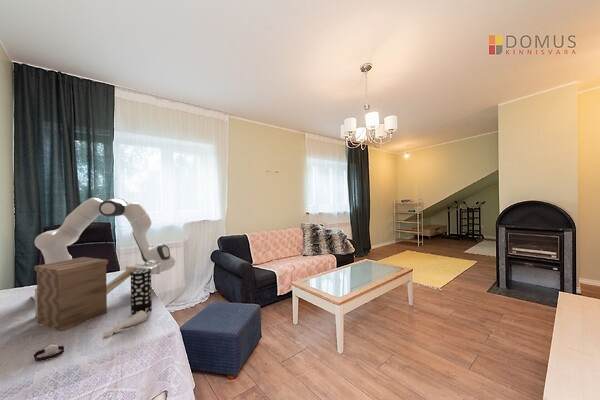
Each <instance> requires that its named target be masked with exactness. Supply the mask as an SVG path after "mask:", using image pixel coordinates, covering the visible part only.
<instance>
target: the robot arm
mask: <svg viewBox="0 0 600 400" xmlns="http://www.w3.org/2000/svg"><path fill="white" fill-rule="evenodd" d="M101 215H102V216H104V217H107V218H111V217H112V218H113V217H119V216H124V217H125V218H126V220H128V222H129V224H130V226H131V228H132V235H133V238H134V241H135V242H136V243H135V244H136V245H137V247H138V250H139V251H140V255H141V259H142V261H143V262H144V263H143V264H141V263H137V264H129V265H126V267H125V270H124V272H125V271H126V270H127V269H129V268H130V267H135V269H136V270H141V269H151V276H153V275H160V274H161V273H162V272H166V271H170V270H171V269H173V268H174V267H175V265H176V259H175V257H174V256H172V255H171V252H170V248H169V246H168V245H166V244H164V243H160V244H157V245H155V246H153V247H151V245H150V244H149V241H148V239H147V237H146V236H147V232H148V230H149V229H150V228H151V226H152V220H151V217H150V215H149V214H148V213H147V211H146V210H145V208H144V207H143V205H141V204H140V203H139V202H136V201H135V202H129V203H128V202H127V201H126V200H125V199H123V198H111V199H106V200H101V199H100V198H98V197H91V198H90V197H89V198H87V200H85V201H83V202H82V203H81V204H80V205H78V206H77V207H76V208H75V209H73V211H71V212H70V213H69V214H68V215H66V217H65V218H64V221H63V223H62V224H61V225H60V226H59V228H57V229H54V230H47V231H45V232H42V233H40V234H38V235H37V236H36V237H35V239H34V245H35V247H36V248H37V249H38V250H40V252H41V254H42V256H43V260H44V264H49V263H55V262H60V261H65V260H71V259H73V257H72V255H71V254H70V253H69V251H68V248H67V247H68V246H71V245H73V244H74V243H76V242H77V241H78V240H79V239H80V236H81V234H82V233H83V232H84V231H85V229H87V228H88V226H89V225H90V224H92V223H93V222H94V221H96V219H97V218H98V217H99V216H101ZM136 270H132V271H130V274H131V272H133V271H136ZM35 292H37V287H35V288H34V293H33V294H31V296H30V297H31V298H32V299H33V300H34V301H35Z"/></svg>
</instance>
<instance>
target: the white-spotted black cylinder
mask: <svg viewBox="0 0 600 400" xmlns="http://www.w3.org/2000/svg"><path fill="white" fill-rule="evenodd" d="M152 298H153V297H152V275H151V269H141V270H136V271H133V272H131V276H130V300H131V301H130V302H131V303H130V310H131V311H130V313H131V316H133V315H134V314H136V313H138V312H139V311H144V312H145V311H146V310H147V314H148V312H149V311H150V312H152V310H153V309H152V308H153V307H152V305H153V304H152V303H153V302H152Z"/></svg>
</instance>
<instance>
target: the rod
mask: <svg viewBox="0 0 600 400" xmlns="http://www.w3.org/2000/svg"><path fill="white" fill-rule="evenodd" d="M125 270H126V269H125ZM125 270H124V271H123V272H121V273H120V274H119V275H118V276H116V277H115V278H114V279H113V280H110V282H109V283H106V287H107V295H108V294H110V292H112V291H113V290H114V289H116V288H117V287H119V285H121V284H123V283H124V282H125V281H126V280H127V279H129V278H131V274H130V271H132V270H136V269H135V267H130V268H129V269H127V270H126V271H125Z"/></svg>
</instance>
